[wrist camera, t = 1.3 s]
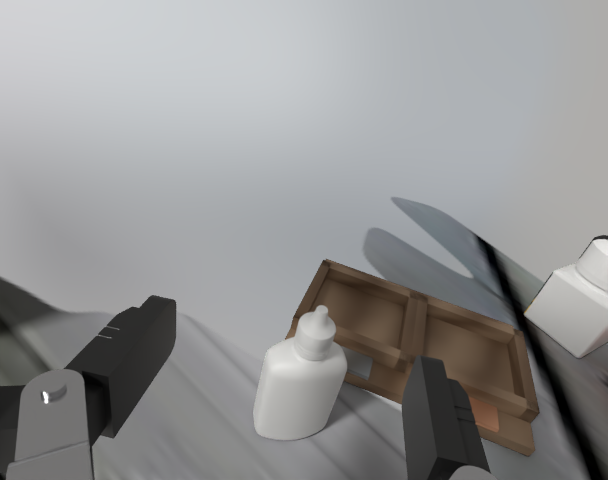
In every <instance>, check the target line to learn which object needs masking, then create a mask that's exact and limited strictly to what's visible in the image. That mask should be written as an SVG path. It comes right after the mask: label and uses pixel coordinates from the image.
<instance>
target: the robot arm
mask: <svg viewBox="0 0 608 480" xmlns="http://www.w3.org/2000/svg"><path fill="white" fill-rule="evenodd" d="M175 339H176V302H175V300H173V299H168V298H163V297H159V296H154V295H152V296H150V297H149V298H148V299H147V300H146V301H145V302H144V303H143V304H142V306H141V307H140V308H136V307H131V308H129V309H127V310H125V311H123V312H121V313H119V314H117V315H116V316H115V317H114V318H113V319H112V320H111V321H110V322H109V323H108V324H107V326H106V327H104V328H103V329H102V330H101V331H100V332H99V334H98V336H96V337H95V338H94V339H93V340H92V341H91V342H90V343H89V344H88V345H87V346H86V347H85V348H84V349H83V350H82V351H81V352H80V353H79V354H78V355H77V356H76V357H75V358H74V359H73V360H72V361H71V362H70V363H69V364H68V365H67V366H66V367H65V368H64V369H58V370H52V371H49V372H46V373H43V374H41V375H39V376H37V377H36V378H34V379H33V380H31V381H30V382H29V383H28V384H27V385H22V386H0V473H5V472H7V475H6V480H95V474H94V462H93V449H92V446H93V444H94V443H95V442H96V440H97V439H98V437H99V436H100V435H102V436H106V437H110V438H114V437H115V436H116V434H117V433H118V431H119V430H120V428H121V427H122V425H123V424H124V422H125V421H126V420H127V418H128V417H129V415H130V414H131V412H132V411H133V409H134V408H135V406H136V405H137V403H138V402H139V400H140V399H141V397H142V396H143V394H144V393H145V391H146V390H147V388H148V387H149V385H150V384H151V382H152V381H153V379H154V378H155V376H156V375H157V373H158V372H159V371H160V369H161V368H162V366H163V365H164V363H165V362H166V360H167V359H168V357H169V356H170V354H171V352H172V350H173V347H174V344H175ZM402 417H403V429H404V440H405V451H406V462H407V473H408V480H498V479H497V478H495V477H494V476H493V475H492V474H491V473H490V470H489V466H488V463H487V459H486V456H485V452H484V449H483V445H482V442H481V438H480V435H479V431H478V428H477V425H476V424H475V423H476V421H475V418H474V414H473V413H472V407H471V404H470V400H469V397H468V394H467V393H466V392H465V390H464V389H463V387H462V386H461V385H460V383H459V382H458V381H457V380H453V379H449V378H447V374H446V370H445V366H444V362H443V361H442V360H440V359H436V358H431V357H427V356H422V355H417V357H416V358H415V361H414V364H413V367H412V369H411V372H410V375H409V378H408V380H407V383H406V386H405V389H404V393H403V398H402Z"/></svg>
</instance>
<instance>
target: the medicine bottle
mask: <svg viewBox="0 0 608 480" xmlns="http://www.w3.org/2000/svg"><path fill="white" fill-rule="evenodd" d="M524 316H525V317H526V318H527V319H529V320H530V321H531V322H532V323H534V324H535V325H536V326H537V327H539V328H540V329H541V330H542V331H544V332H545V333H546V334H547V335H549V336H550V337H551V338H552V339H554V340H555V341H556V342H557V343H559V344H560V345H561V346H562V347H564V348H565V349H566V350H567V351H569V352H570V353H571V354H572V355H574V356H575V357H576V358H582V357H583V356H585V355H587V354H588V353H590V352H592V351H593V350H595V349H597V348H598V347H600V346H602V345H603V344H605V343H607V342H608V236H606V235H602V236H598V237H595V238H594V239H593V240H592V242H591V243H590V244H589V246H588V247H587V248H586V250H585V251H584V252H583V254H582V255H581V257H580V258H579V259H578V261H577V262H576V263H574V264H571V265H568V266H565V267H562V268H560V269H557V270H554V271H553V273H552V274H551V275H550V277H549V278H548V280H547V281H546V282H545V284H544V285H543V287H542V288H541V290H540V291H539V292H538V294H537V295H536V297H535V298H534V300H533V301H532V302H531V304H530V305H529V307H528V308H527V310H526V311H525V312H524Z"/></svg>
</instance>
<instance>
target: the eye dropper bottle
mask: <svg viewBox="0 0 608 480" xmlns="http://www.w3.org/2000/svg"><path fill="white" fill-rule="evenodd" d="M335 333H336V326H335V323H334V322H333V320H332V319H331V318H330V317H328V309H327V307H325V306H323V305H319V306H318V307H317V308H316V310H315V312H309V313H306V314H304V315H303V316H302V317H301V318H300V319H299V322H298V326H297V330H296V333H295V337H292V338H289V339H286V340H283V341H281V342H279V343H277V344H275V345H274V346H272V347H270V348H269V349H268V351H267V352H266V355H265V359H264V363H263V367H262V371H261V376H260V381H259V385H258V390H257V395H256V399H255V404H254V409H253V417H254V425H255V429H256V432H257V433H258V434H259V435H260V436H263V437H265V438H269V439H274V440H284V441H288V440H297V439H302V438H305V437H308V436H311V435H313V434H315V433H317V432H318V431H320V430H321V429H323V428H324V426H325V425H326V423H327V421H328V418H329V416H330V413H331V411H332V408H333V406H334V403H335V401H336V398H337V396H338V393H339V390H340V388H341V385H342V383H343V380H344V377H345V374H346V372H347V361H346V357H345V354H344V352H343V350H342V348H341V347H340V345H338V344H337V343H335V342H333V339H334V336H335Z"/></svg>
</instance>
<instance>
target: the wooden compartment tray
mask: <svg viewBox="0 0 608 480" xmlns="http://www.w3.org/2000/svg"><path fill="white" fill-rule="evenodd" d="M319 305H323V306H325V307H327V309H328V317H330V318H331V319H332V320H333V322H334V323H335V326H336V333H335V336H334V339H333V342H335V343H337V344H338V345H340V347H341V348H342V350H343V352H344V354H345V357H346V361H347V372H346V374H345V377H344V380H343V381H346V382H348V383H350V384H353V385H355V386H358V387H360V388H363V389H365V390H368V391H370V392H372V393H375V394H377V395H380V396H382V397H385V398H387V399H390V400H392V401H395V402H397V403H399V404H402V398H403V393H404V389H405V386H406V383H407V380H408V378H409V375H410V372H411V369H412V367H413V364H414V361H415V358H416V357H417V355H422V356H427V357H431V358H436V359H440V360H442V361H443V362H444V366H445V370H446V374H447V378H449V379H453V380H457V381H458V382H459V383H460V385H461V386H462V387H463V389H464V390H465V392H466V393H467V394H468V397H469V400H470V404H471V407H472V413H473V414H474V418H475V421H476V423H475V424H476V425H477V428H478V431H479V435H480V437H482V438H485V439H487V440H490V441H492V442H494V443H497V444H499V445H502V446H504V447H507V448H509V449H512V450H514V451H516V452H519V453H521V454H524V455H526V456H530V455H531V454H532V453H533V452H534V451H535V447H534V441H533V435H532V430H531V424H530V423H531V422H532V421H533V420H534V419H535V417H536V416H537V415H538V414H539V408H538V403H537V398H536V394H535V389H534V384H533V379H532V374H531V369H530V364H529V359H528V355H527V350H526V345H525V340H524V335H523V332H522V331H519V330H516V329H513V326H512V325H509V324H506V323H503V322H500V321H498V320H495V319H492V318H489V317H487V316H484V315H481V314H478V313H475V312H473V311H470V310H467V309H464V308H461V307H459V306H456V305H453V304H450V303H448V302H445V301H442V300H439V299H436V298H434V297H431V296H428V295H425V294H423V293H420V292H417V291H414V290H411V289H409V288H406V287H403V286H400V285H398V284H395V283H392V282H389V281H386V280H384V279H381V278H378V277H375V276H372V275H369V274H367V273H364V272H361V271H359V270H356V269H353V268H350V267H347V266H345V265H342V264H339V263H336V262H334V261H331V260H328V259H326V260H323V262H322V264H321V265H320V267H319V269H318V271H317V273H316V275H315V277H314V279H313V281H312V283H311V285H310V286H309V288H308V290H307V292H306V294H305V296H304V298H303V300H302V302H301V304H300V305H299V308H298V309H297V311H296V313H295V315H294V317H293V321H292V325H291V329H290V330H289V332H288V334H287V336H286V338H285V340H286V339H289V338H292V337H295V333H296V330H297V326H298V322H299V319H300V318H301V317H302V316H303V315H304V314H306V313H309V312H315V310H316V308H317V307H318V306H319Z"/></svg>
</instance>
